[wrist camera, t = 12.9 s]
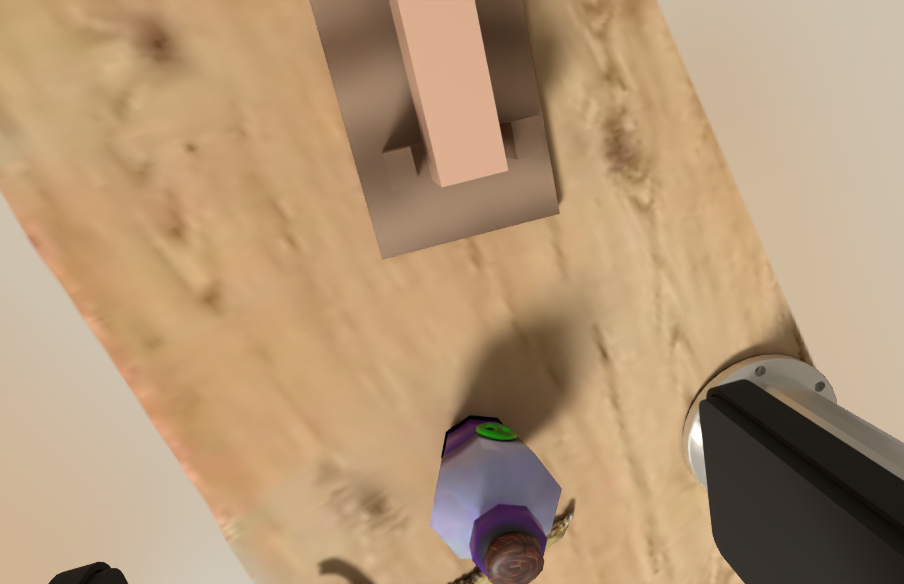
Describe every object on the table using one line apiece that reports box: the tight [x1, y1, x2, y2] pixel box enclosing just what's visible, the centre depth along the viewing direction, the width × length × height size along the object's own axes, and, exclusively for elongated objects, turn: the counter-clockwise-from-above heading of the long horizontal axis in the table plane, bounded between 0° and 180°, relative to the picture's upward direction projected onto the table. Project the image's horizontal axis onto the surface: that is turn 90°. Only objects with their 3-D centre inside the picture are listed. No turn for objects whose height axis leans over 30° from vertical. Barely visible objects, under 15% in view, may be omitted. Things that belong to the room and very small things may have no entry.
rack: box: [310, 0, 560, 259], centre depth 30 cm, size 24×12×6 cm, turn 13°
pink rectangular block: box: [389, 0, 508, 187], centre depth 27 cm, size 16×4×5 cm, turn 13°
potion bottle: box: [430, 415, 562, 584], centre depth 35 cm, size 9×9×12 cm
